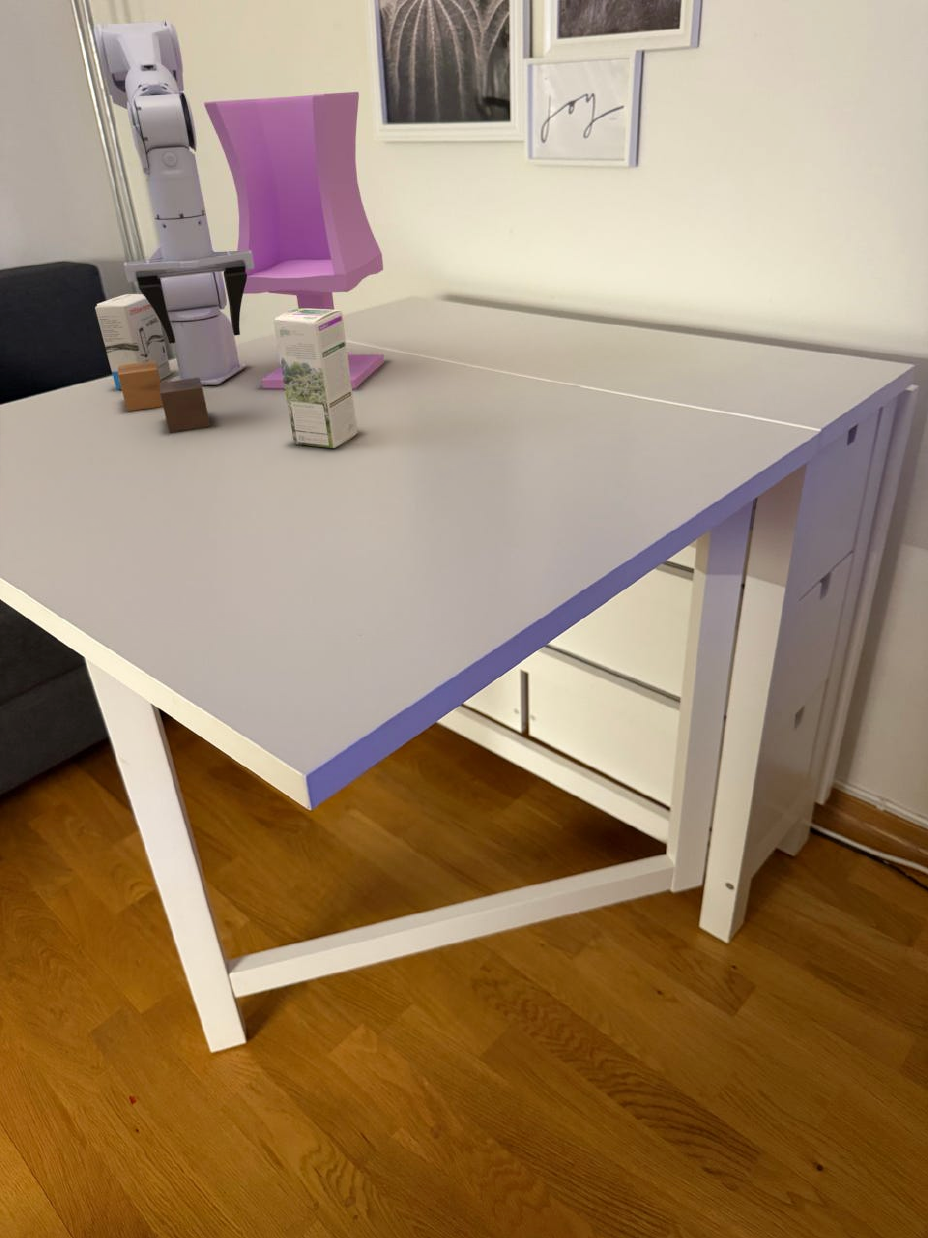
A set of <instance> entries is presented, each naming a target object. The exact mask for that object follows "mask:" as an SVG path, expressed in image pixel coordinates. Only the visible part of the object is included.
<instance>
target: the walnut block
mask: <svg viewBox="0 0 928 1238" xmlns="http://www.w3.org/2000/svg"><path fill="white" fill-rule="evenodd" d="M169 381H170V380H169ZM169 381H163V382H162V381H161V383H159V387H160V395H161V399H162V403H163V406H162V407H163V411H164V416H165V420H166V425H167V430H168V433H169V434H171V433H178V432H184V431H190V430H198V429H204V428H209V427H211V423H210V418H209V414H208V409H207V408H208V407H207V404H206V400H205V393H204V389H203V385H201V381H200V378H191V379H184V380H177V381H170V382H169Z"/></svg>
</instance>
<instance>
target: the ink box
mask: <svg viewBox="0 0 928 1238" xmlns="http://www.w3.org/2000/svg"><path fill="white" fill-rule="evenodd" d="M94 309H95V313H96V317H97V321H98V325H99V328H100V332H101V337H102V339H103V344H104V348H105V351H106V356H107V359H108V362H109V366H110V370H111V373H112V378H113V383H114V385H115V389H116V390H122V389H121V385H120V381H119V377H118V366H119V365H126V364H134V363H142V362H149V361H156V363H157V367H158V371H159V376H160V380H161V381H162V380H164V379H165V378H167V377H168V376H170V375H172V370H171V369H172V368H171V365H170V361H169V356H168V351H167V347H166V342H165V339H164V334H163V328H162V323H161V322H160V320H159V318H158V316H157V314H156V313H155V311H154V309H153V308H152V306H151V305H150V303H149V302H148V301H147V299H146V298H145V296H144V295H143V294H142V293H125V294H122V295H119V296H116V297H113V298H110V299H107V300H105V301H102V302H98V303H96V306H95V307H94Z"/></svg>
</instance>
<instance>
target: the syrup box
mask: <svg viewBox="0 0 928 1238" xmlns="http://www.w3.org/2000/svg"><path fill="white" fill-rule="evenodd" d="M273 327H274V332H275V333H274V334H275V339H276V344H277V351H278V357H279V363H280V367H281V369H282V375H283V380H284V387H285V388H284V393H285V398H286V404H287V410H288V417H289V422H290V427H291V435H292V440H293V443H294V445H302V446H309V447H319V448H327V449H336V448H337V447H339V446H341V445H343V444H344V443H346V442H347V441H349V440H350V439H353V437H355V436H356V435H358V425H357V418H356V412H355V404H354V396H353V389H352V388H351V379H350V371H349V363H348V355H347V354H348V346H347V338H346V330H345V323H344V315H343V310H341V309H334V310H329V309H304V308H300V309H298V308H295V309H291V310H288V311H286V312H284V313H282V314H281V315H279V316H277V317H275V318H273Z"/></svg>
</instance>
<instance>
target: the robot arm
mask: <svg viewBox="0 0 928 1238" xmlns="http://www.w3.org/2000/svg"><path fill="white" fill-rule="evenodd" d="M93 33H94V37H95V41H96V42H95V43H96V46H97V51H98V55H99V60H100V65H101V69H102V73H103V78H104V79H105V81H106V82H105V83H106V87H107V91H108V95H109V96H111V100H112V103H113V104H114V105H117V106H118V107H121V108H123V109H125V110H127V115H128V120H129V124H130V129H131V135H132V139H133V142H134V146H135V149H136V152H137V154H138V156H139V159H140V163H141V167H142V171H143V174H144V175H145V176H146V184H147V189H148V194H149V199H150V203H151V209H152V213H153V217H154V223H155V227H156V232H157V236H158V241H159V245H158V246H157V247H156V248H155V249H154V250H153V251H152V252H151V253H150V254H149V255H148V257H147V259H143V260H137V261H128V262H127V261H125V262H124V263H123V269H124V272H125V276H126V280H127V283H137V284H138V289H139V290H140V292H141V294H143V295H144V296H145V298H146V299H147V301H148V302H149V303H150V305H151V306H152V308H153V309H154V311H155V313H156V314H157V316H158V318H159V320H160V324H161V327H163V328H162V329H164V332H165V334H166V338H167V341H168V344H172V345H173V350H174V354H175V355H174V356H175V359H176V363H177V367H178V368H177V369H178V373H179V374H178V375H177V376H175V377H173V378H171V379H169V380H168V382H170V381H177V380H184V379H191V378H200V381H201V385H202V386H204V385H206V386H207V385H209V386H211V385H213V386H214V385H216V386H217V385H220V384H222V383H223V382H225V381H227V380H228V379H230V378H231V377H232V376H234V375H236V374H237V373H239V372H241V371H242V370H243V369H245V368H246V364H245V363H240V360H239V354H238V349H237V343H236V337H235V336H240V335H241V329H240V315H241V307H242V301H243V296H244V294H243V292H244V288H245V284H246V280H247V273H246V270H250V269H255V267H254V261H253V255H252V251H251V250H242V251H237V250H230V251H229V250H227V251H214V250H213V245H212V239H211V234H210V229H209V224H208V218H207V213H206V207H205V201H204V196H203V192H202V185H201V180H200V174H199V170H198V169H199V168H198V164H197V159H196V154H195V153H193V151H194V152H197V132H196V128H195V127H196V126H195V121H194V115H193V112H192V107H191V105H190V102H189V99H188V97H187V94H186V92H185V86H184V77H183V74H184V67H183V60H182V53H181V47H180V43H179V38H178V34H177V33H178V32H177V29H176V27H175V25H174V24H173V23H172V22H171V20H168V19H166V20H164V21H153V22H132V23H131V22H130V23H129V22H128V23H108V24H107V23H106V24H104V23H103V24H102V23H101V22H97V23H96V24H95V26H94V28H93ZM190 149H191V150H193V151H191V150H190ZM245 269H246V270H245ZM222 272H223V273H222ZM227 305H229V314H230V319H229V317H228V316H227V314H225V313H224V312H223V311H221V310H225V308H226V306H227Z"/></svg>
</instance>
